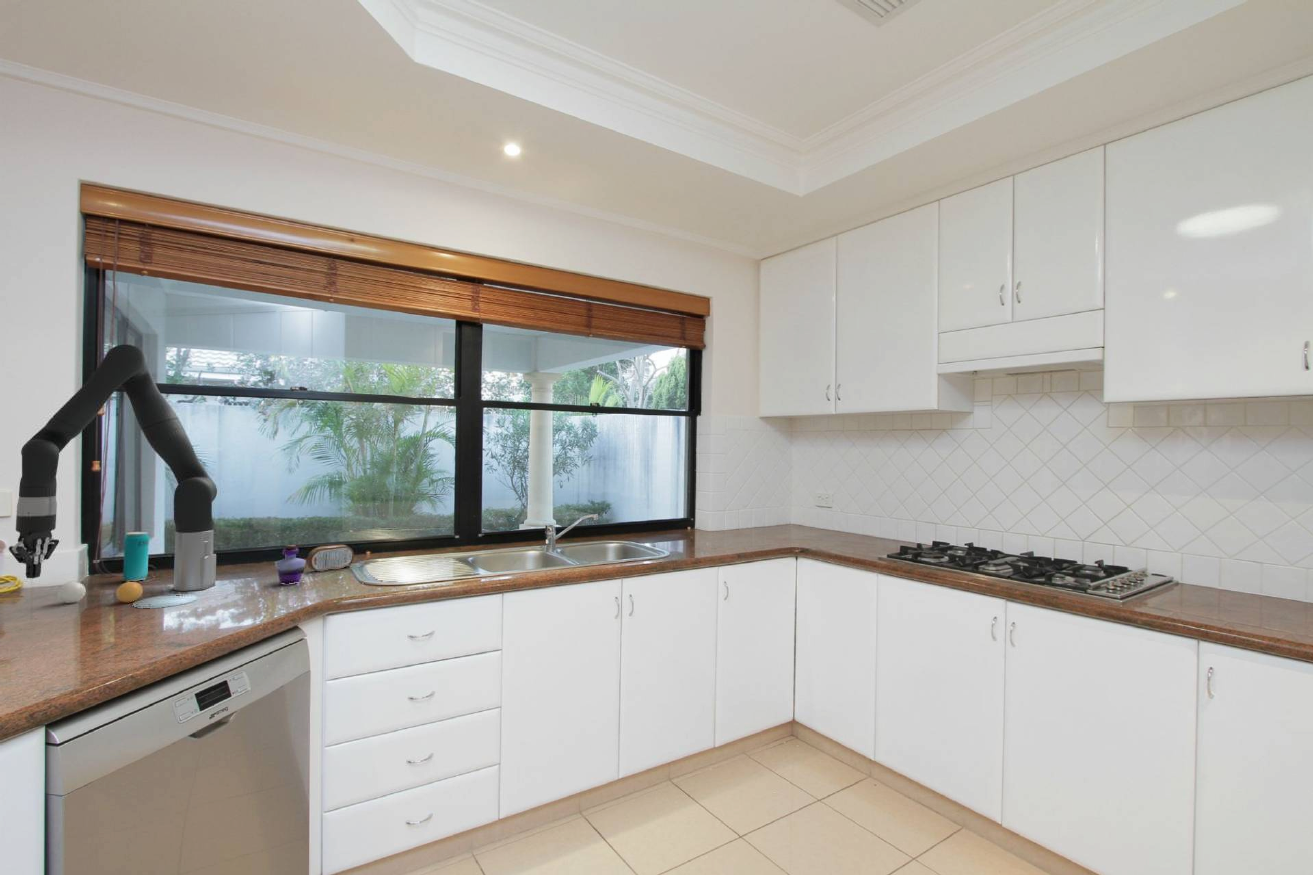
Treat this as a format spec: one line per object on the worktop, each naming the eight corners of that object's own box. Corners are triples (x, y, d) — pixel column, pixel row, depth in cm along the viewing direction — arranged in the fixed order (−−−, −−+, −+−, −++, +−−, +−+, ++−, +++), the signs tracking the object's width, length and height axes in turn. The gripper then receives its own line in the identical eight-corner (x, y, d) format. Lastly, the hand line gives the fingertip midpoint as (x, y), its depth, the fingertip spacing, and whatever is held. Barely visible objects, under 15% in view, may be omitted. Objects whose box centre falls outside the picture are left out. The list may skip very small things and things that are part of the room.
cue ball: (90, 599, 166) (91, 580, 166) (74, 605, 161) (75, 584, 161) (68, 600, 166) (69, 580, 166) (51, 605, 160) (52, 584, 160)
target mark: (208, 594, 175) (208, 594, 175) (177, 608, 161) (177, 607, 161) (154, 595, 173) (154, 594, 173) (118, 609, 159) (118, 608, 159)
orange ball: (147, 599, 168) (147, 579, 168) (133, 604, 163) (133, 584, 163) (125, 599, 168) (125, 579, 168) (110, 604, 162) (111, 584, 162)
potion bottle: (311, 582, 193) (312, 544, 193) (285, 587, 185) (286, 548, 185) (293, 578, 196) (294, 542, 197) (267, 584, 189) (268, 545, 189)
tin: (351, 566, 218) (351, 542, 218) (355, 567, 216) (355, 544, 216) (306, 572, 206) (306, 547, 207) (309, 573, 204) (310, 549, 205)
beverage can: (152, 579, 191) (153, 531, 192) (135, 583, 186) (136, 534, 186) (135, 578, 192) (137, 531, 192) (118, 582, 186) (119, 533, 186)
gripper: (30, 516, 156) (26, 583, 156) (72, 510, 169) (69, 572, 169) (-3, 515, 155) (-7, 583, 155) (42, 510, 168) (38, 572, 168)
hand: (33, 577), depth 162 cm, fingers closed
